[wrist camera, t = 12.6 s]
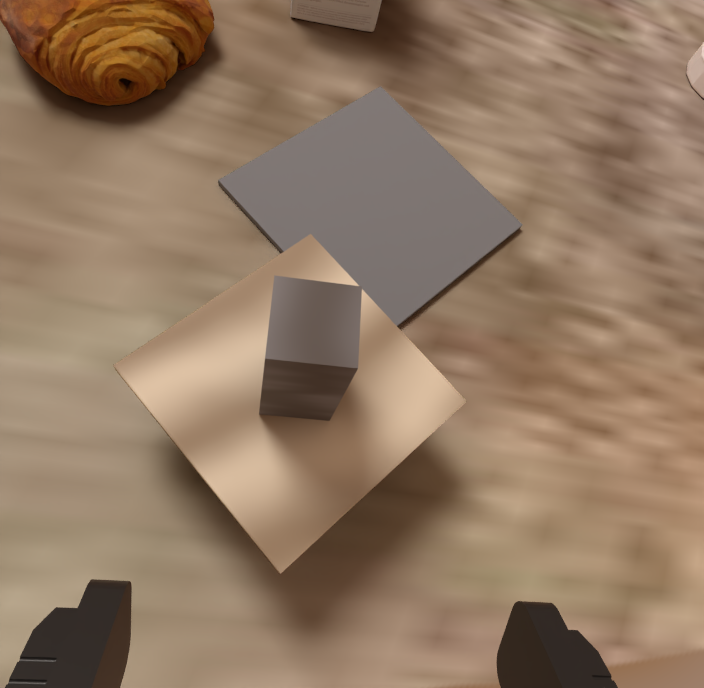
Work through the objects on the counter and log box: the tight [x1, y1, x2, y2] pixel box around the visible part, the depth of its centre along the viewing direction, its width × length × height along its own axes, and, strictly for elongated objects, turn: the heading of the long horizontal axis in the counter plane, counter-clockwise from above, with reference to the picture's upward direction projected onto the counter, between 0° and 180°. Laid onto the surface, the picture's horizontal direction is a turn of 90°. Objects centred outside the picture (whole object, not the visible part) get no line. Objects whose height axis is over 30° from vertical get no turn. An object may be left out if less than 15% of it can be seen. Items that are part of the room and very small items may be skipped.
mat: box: [218, 86, 522, 327], centre depth 43 cm, size 16×16×1 cm
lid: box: [113, 234, 466, 574], centre depth 27 cm, size 13×13×9 cm
